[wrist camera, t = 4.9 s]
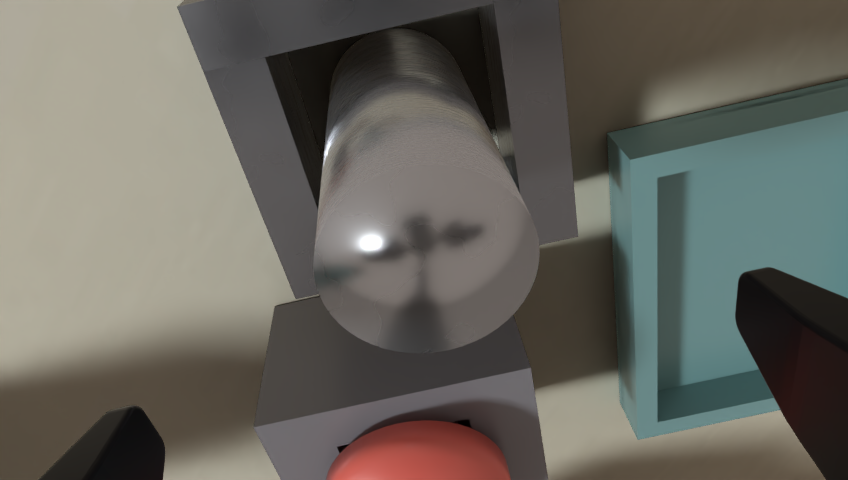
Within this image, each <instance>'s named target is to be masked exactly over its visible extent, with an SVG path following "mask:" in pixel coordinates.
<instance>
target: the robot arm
mask: <svg viewBox="0 0 848 480" xmlns="http://www.w3.org/2000/svg"><path fill="white" fill-rule="evenodd" d="M735 320H736V325H737V328H738V330H739V333H740V335H741V336H742V338H743V340H744V342H745V344H746V346H747V348H748V350H749V352H750V353H751V355H752V357H753V359H754V361H755V363H756V365H757V367H758V369H759V370H760V372H761V374H762V376H763V378H764V380H765V382H766V384H767V386H768V387H769V389H770V391H771V393H772V395H773V397H774V399H775V401H776V403H777V404H778V406H779V408H780V410H781V412H782V413H783V415H784V417H785V419H786V420H787V422H788V424H789V425H790V427H791V428H792V430H793V431H794V433H795V434H796V436H797V437H798V439H799V440H800V442H801V443H802V445H803V446H804V448H805V449H806V451H807V452H808V454H809V455H810V457H811V458H812V459H813V461H814V462H815V464H816V465H817V467H818V468H819V470H820V471H821V473H822V474H823V476H824V477H825V479H826V480H848V298H846V297H844V296H841V295H839V294H836V293H834V292H832V291H829V290H827V289H824V288H822V287H819V286H817V285H814V284H812V283H810V282H807V281H805V280H802V279H800V278H797V277H795V276H792V275H790V274H788V273H785V272H783V271H780V270H778V269H775V268H772V267H765V268H760V269H756V270H751V271H746V272H744V273H742V274H741V275H740V277H739V280H738V288H737V299H736V311H735ZM164 462H165V447H164V443H163V440H162V438H161V437H160V435H159V434H158V432H157V430H156V429H155V427H154V426H153V424H152V423H151V421H150V420H149V418H148V417H147V415H146V414H145V412H144V411H143V410H142V408H140V407H139V406H137V405H131V406H126V407H121V408H117V409H113V410H110V411H108V412H107V413H106V414H105V415H104V416H102V417H101V418H100V419H99V420H98V421H97V422H96V423H95V424H94V425H93V426H92V427H91V428H90V429H89V430H88V431H87V432H86V433H85V434H84V435H83V436H82V437H81V438H80V439H79V440H78V441H77V442H76V443H75V444H74V445H73V446H72V447H71V448H70V449H69V450H68V451H67V452H66V453H65V454H64V455H63V456H62V457H61V458H60V459H59V460H58V461H57V462H56V463H55V464H54V465H53V466H52V467H51V468H50V469H49V470H48V471H47V472H46V473H45V474H44V475H43V476H42V477H41V478H40V479H39V480H163V472H164Z"/></svg>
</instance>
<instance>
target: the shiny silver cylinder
mask: <svg viewBox="0 0 848 480" xmlns="http://www.w3.org/2000/svg"><path fill="white" fill-rule="evenodd" d="M539 257H540V250H539V240H538V235H537V230H536V228H535V225H534V223H533V220H532V218H531V216H530V214H529V211H528V209H527V207H526V205H525V203H524V201H523V199H522V197H521V195H520V193H519V191H518V189H517V187H516V184H515V182H514V180H513V178H512V176H511V174H510V172H509V170H508V168H507V166H506V164H505V162H504V160H503V157H502V155H501V153H500V151H499V149H498V147H497V145H496V143H495V141H494V139H493V137H492V135H491V133H490V130H489V128H488V126H487V124H486V122H485V120H484V118H483V116H482V114H481V112H480V110H479V108H478V106H477V103H476V101H475V99H474V97H473V95H472V93H471V91H470V89H469V87H468V85H467V83H466V81H465V78H464V76H463V74H462V72H461V70H460V68H459V66H458V64H457V62H456V61H455V59H454V57H453V56H452V55H451V53H450V52H449V51H448V50H447V49H446V48H445V47H444V46H443V45H442V44H441V43H440V42H438V41H437V40H436V39H434V38H432V37H430V36H429V35H427V34H424V33H422V32H419V31H416V30H411V29H404V28H390V29H384V30H380V31H377V32H374V33H371V34H369V35H367V36H365V37H363V38H362V39H360V40H358V41H357V42H356V43H354V44H353V45H352V46H351V47H350V48H349V49H348V50H347V51H346V52H345V53H344V55H343V56H342V58H341V59H340V61H339V62H338V64H337V66H336V68H335V70H334V73H333V77H332V81H331V86H330V95H329V106H328V116H327V126H326V136H325V147H324V157H323V167H322V177H321V188H320V198H319V208H318V218H317V229H316V239H315V249H314V265H313V270H314V278H315V283H316V287H317V290H318V293H319V295H320V297H321V300H322V302H323V304H324V305H325V307H326V308H327V310H328V311H329V313H330V314H331V315H332V316H333V318H334V319H335V320H336V321H337V322H338V323H339V324H340V325H341V326H342V327H344V328H345V329H346V330H347V331H348V332H350V333H352V334H353V335H355V336H356V337H358V338H359V339H361V340H363V341H365V342H368V343H370V344H372V345H375V346H378V347H381V348H384V349H388V350H392V351H397V352H405V353H434V352H441V351H446V350H451V349H455V348H458V347H462V346H464V345H467V344H470V343H472V342H475V341H477V340H479V339H481V338H483V337H485V336H486V335H488V334H490V333H491V332H493V331H494V330H496V329H497V328H499V327H500V326H501V325H502V324H504V323H505V322H506V321H507V320H508V319H509V318H510V317H511V316H512V315H513V314H514V313H515V312H516V311H517V310H518V309H519V307H520V306H521V305H522V303H523V302H524V301H525V299H526V297H527V296H528V294H529V292H530V290H531V288H532V286H533V283H534V281H535V278H536V274H537V271H538V267H539Z"/></svg>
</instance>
